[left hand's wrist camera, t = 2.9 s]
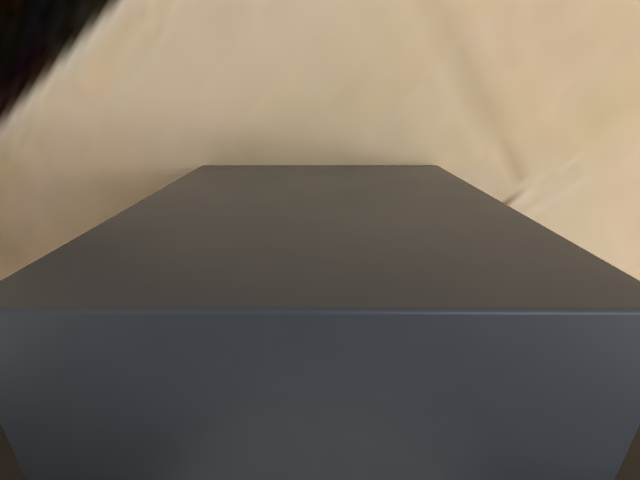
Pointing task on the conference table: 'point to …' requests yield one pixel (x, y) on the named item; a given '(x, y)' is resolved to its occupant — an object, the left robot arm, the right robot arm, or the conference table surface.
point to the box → (320, 337)
